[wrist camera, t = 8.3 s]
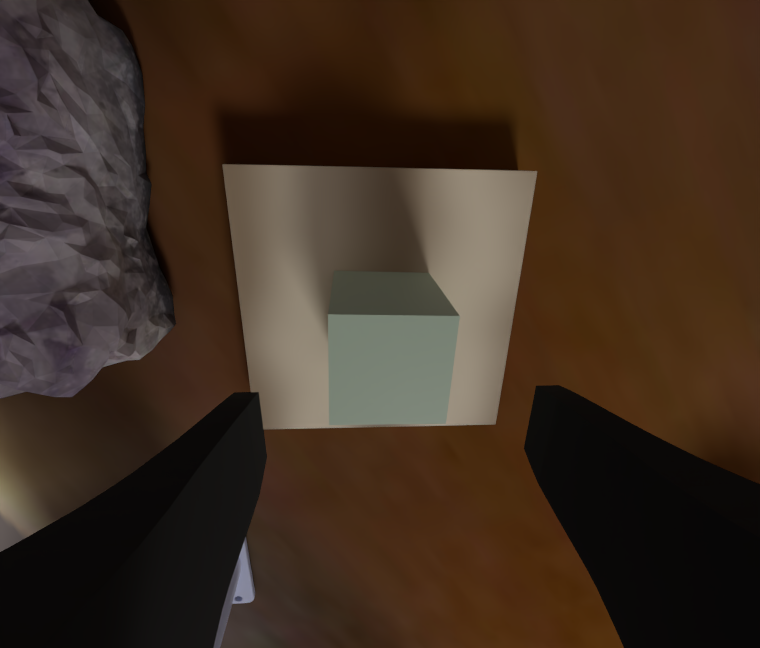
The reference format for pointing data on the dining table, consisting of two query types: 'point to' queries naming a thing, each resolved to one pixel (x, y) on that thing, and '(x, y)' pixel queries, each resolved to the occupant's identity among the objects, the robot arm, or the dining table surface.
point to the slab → (372, 253)
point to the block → (389, 349)
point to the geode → (72, 201)
